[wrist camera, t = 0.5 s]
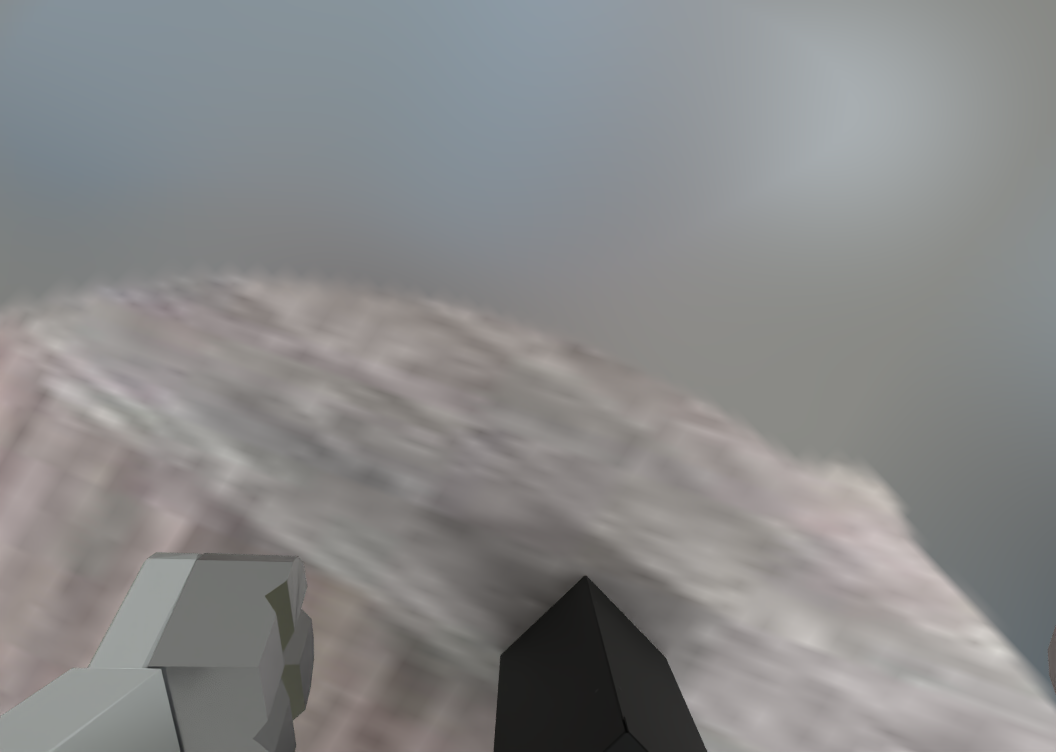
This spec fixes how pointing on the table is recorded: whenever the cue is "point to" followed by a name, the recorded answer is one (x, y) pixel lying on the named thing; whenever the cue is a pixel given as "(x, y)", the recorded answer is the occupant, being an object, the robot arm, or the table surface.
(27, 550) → the table surface
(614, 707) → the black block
